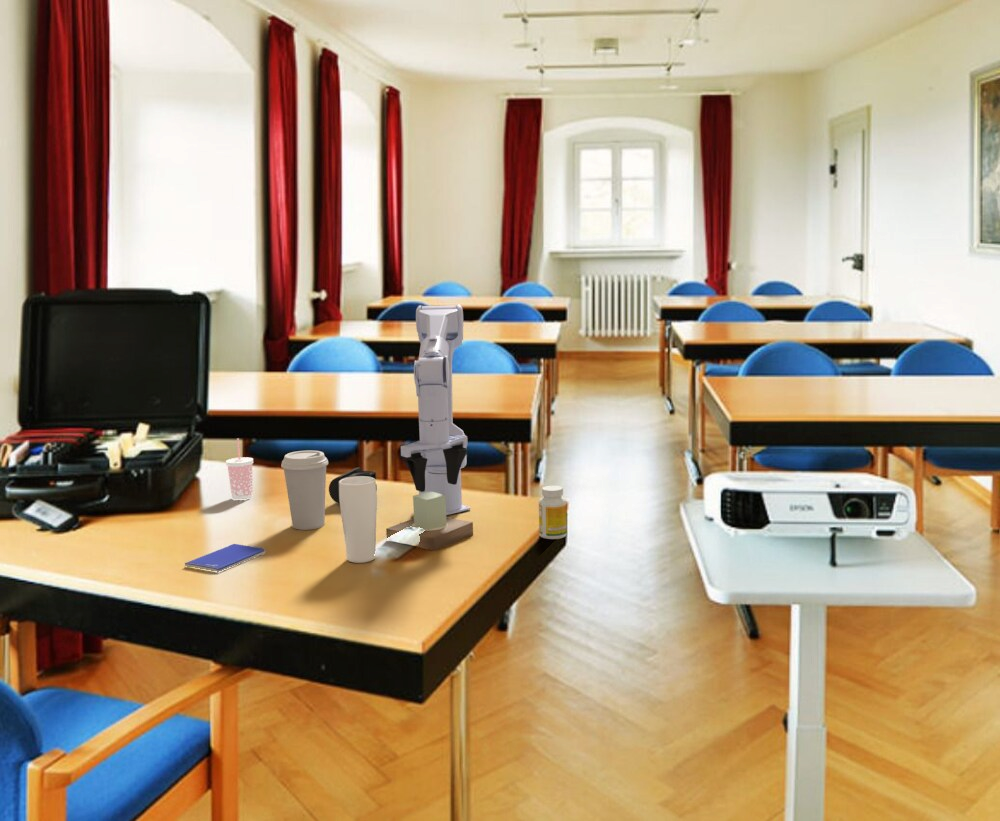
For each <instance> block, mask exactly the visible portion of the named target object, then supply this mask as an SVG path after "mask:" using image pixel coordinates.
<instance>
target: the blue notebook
mask: <svg viewBox="0 0 1000 821" xmlns="http://www.w3.org/2000/svg"><path fill="white" fill-rule="evenodd" d="M264 553H265V554H266V550H265V549H264V548H262V547H256V546H249V545H245V544H237V543H233V544H230V545H228V546H224V547H223V548H220V549H218V550H215V551H212V552H211V553H208V554H204V555H202V556H200V557H197V558H194V559H192V560H190V561H187V562H184V567H185V566H187V567H195V568H200V569H206V570H211V571H217V572H219V571H222V570H224V569H227V568H229V567H232V566H234V565H237V564H239V563H242V562H244V561H246V562H248V561H247V560H249V559H251V560H253V559H255V558H254V557H256V558H258V557H260V556H259V555H261V556H262V554H263V555H265V554H264ZM257 556H258V557H257ZM252 558H253V559H252ZM249 561H250V560H249ZM244 563H245V562H244ZM242 564H243V563H242ZM239 565H240V564H239ZM237 566H238V565H237ZM232 568H233V567H232Z"/></svg>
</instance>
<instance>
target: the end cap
mask: <svg viewBox="0 0 1000 821" xmlns="http://www.w3.org/2000/svg"><path fill="white" fill-rule="evenodd" d="M354 476H368V477H373V478H374V479H375V480H377V473H376V471H370V470H362V468H361V467H355V468H353V469H351V470H349V471H346V472H344V473H342V474H340V475H339V476H336V477H335V478H333V479H332V480H331V481H330V482H329V485H328V493H329V496H330V497H331V500H333V501H334V502H335V503H337V504H338V505H339V506H340V501H339V481H340V480H341V479H344V478H348V477H354ZM377 486H378V485H377V483H376V491H378V490H377V488H378V487H377Z"/></svg>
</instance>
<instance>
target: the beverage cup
mask: <svg viewBox="0 0 1000 821" xmlns="http://www.w3.org/2000/svg"><path fill="white" fill-rule="evenodd" d="M236 443H237V445H236V446H237V457H233V458H229V459H226V460H225V463H226V465H225V466H227V471H228V472H227V473H228V479H229V486H230V494H231V499H232V498H233V499H247V498H251V497H252V496H253V494H254V493H253V492H254V491H253V490H254V489H253V486H254V485H253V464H254V458H253V457H247V456H246V457H245V456H244V457H241V448H240V447H241V446H240V445H241V444H240V438H239V437H238V438H236ZM253 497H254V496H253ZM251 499H252V498H251Z"/></svg>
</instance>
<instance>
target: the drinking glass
mask: <svg viewBox="0 0 1000 821" xmlns="http://www.w3.org/2000/svg"><path fill="white" fill-rule="evenodd" d="M376 484H377V483H376V479H374V478H373V477H368V476H354V477H348V478H344V479H341V480H340V481H339V501H340V505H339V509H340V515H341V522H342V529H343V535H344V542H345V543H344V544H345V549H346V550H345V552H346V554H345V555H346V560H347V561H348V562H350V563H354V564H364V563H369V562H372V561H373V560H375V559H376V557H375V556H374V554H375V551H376V552H377V550H376V544H377V543H376V541H377V540H376V539H377V515H378V514H377V510H378V508H377V506H378V500H377V499H378V497H377V496H378V495H377V494H378V493H377V491H378V490H377V491H376Z"/></svg>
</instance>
